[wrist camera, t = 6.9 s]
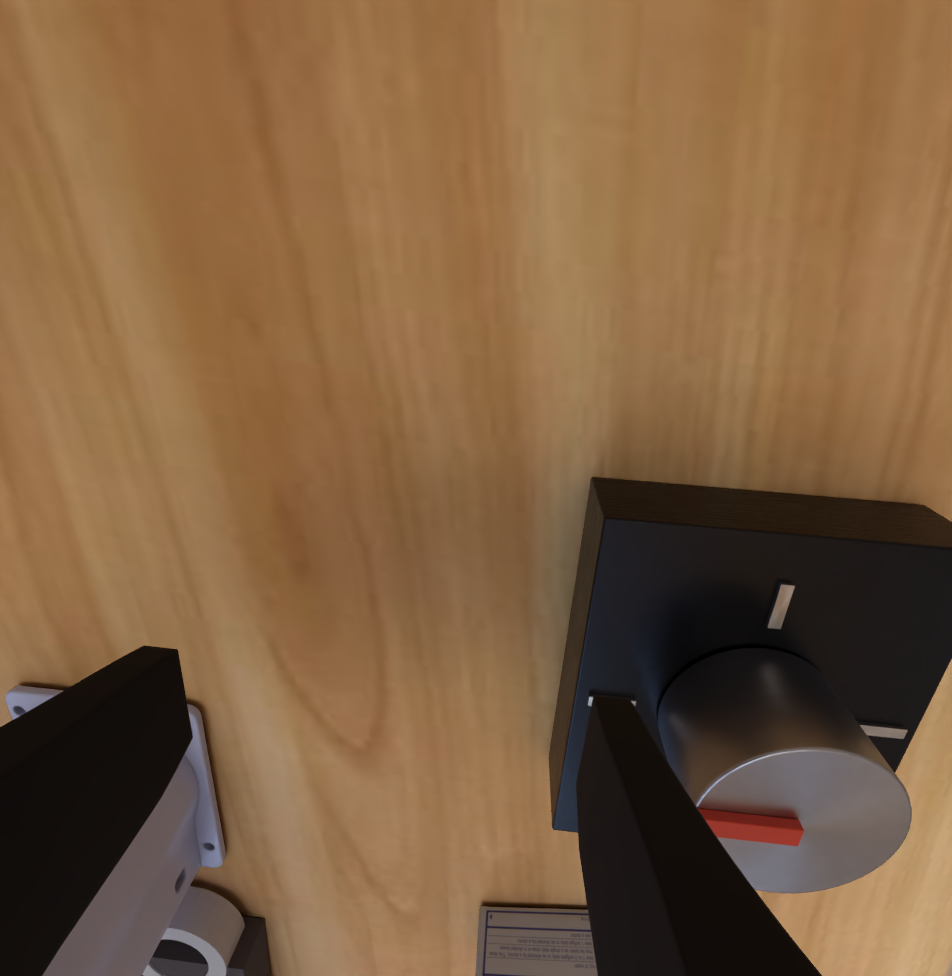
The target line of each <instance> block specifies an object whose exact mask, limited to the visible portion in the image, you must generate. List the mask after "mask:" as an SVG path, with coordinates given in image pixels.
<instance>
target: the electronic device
mask: <svg viewBox="0 0 952 976" xmlns="http://www.w3.org/2000/svg"><path fill="white" fill-rule="evenodd" d="M142 976H270V968H269V959H268V949H267V940H266V931H265V922H264V919H260V918H252V917H245V916H241V914H240V912H239V911H238V910H237V909H236V907H235V906H234V905H232V904H231V903H230V902H229V901H228V900H226V899H225V898H223V897H222V896H220V895H218V894H216V893H214V892H212V891H209V890H206V889H202V888H197V887H189V889H188V890H187V892H186V894H185V896H184V898H183V900H182V902H181V904H180V905H179V907H178V909H177V911H176V913H175V915H174V917H173V918H172V920H171V922H170V924H169V926H168V928H167V930H166V931H165V933H164V935H163V937H162V939H161V941H160V943H159V945H158V946H157V948H156V950H155V952H154V954H153V956H152V958H151V959H150V961H149V963H148V965H147V967H146V969H145V971H144V972H143V974H142Z"/></svg>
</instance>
